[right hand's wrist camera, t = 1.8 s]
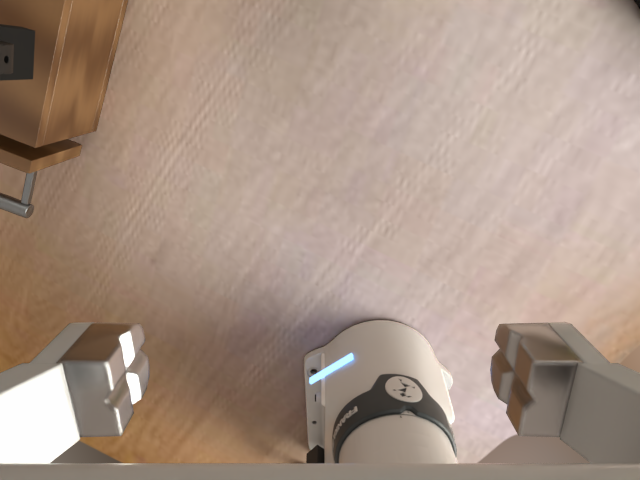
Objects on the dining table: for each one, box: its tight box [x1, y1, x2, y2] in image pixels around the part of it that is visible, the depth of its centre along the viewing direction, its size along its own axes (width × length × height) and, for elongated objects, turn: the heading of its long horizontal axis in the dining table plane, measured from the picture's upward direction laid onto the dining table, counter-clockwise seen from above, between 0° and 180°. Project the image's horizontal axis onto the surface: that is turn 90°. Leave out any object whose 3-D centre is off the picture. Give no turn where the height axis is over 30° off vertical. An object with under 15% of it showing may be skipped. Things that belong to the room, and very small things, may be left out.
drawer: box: [0, 134, 82, 218], centre depth 40 cm, size 21×9×9 cm, turn 157°
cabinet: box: [0, 0, 128, 148], centre depth 38 cm, size 17×10×11 cm, turn 157°
